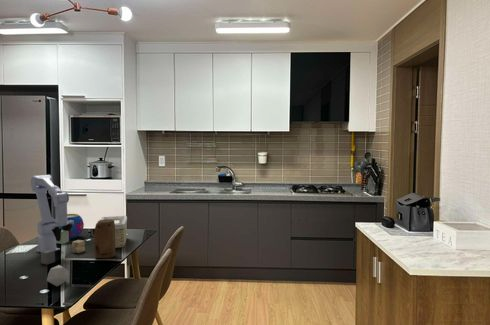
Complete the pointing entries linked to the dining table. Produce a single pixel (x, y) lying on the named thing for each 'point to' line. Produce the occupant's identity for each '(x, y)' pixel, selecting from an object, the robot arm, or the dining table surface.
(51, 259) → the charcoal block
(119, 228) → the storage basket
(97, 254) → the brown rough elongated lump
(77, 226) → the ceramic pot
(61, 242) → the sage block
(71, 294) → the dining table surface
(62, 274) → the die
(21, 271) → the dining table surface
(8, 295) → the dining table surface
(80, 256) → the dining table surface
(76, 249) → the beech block
